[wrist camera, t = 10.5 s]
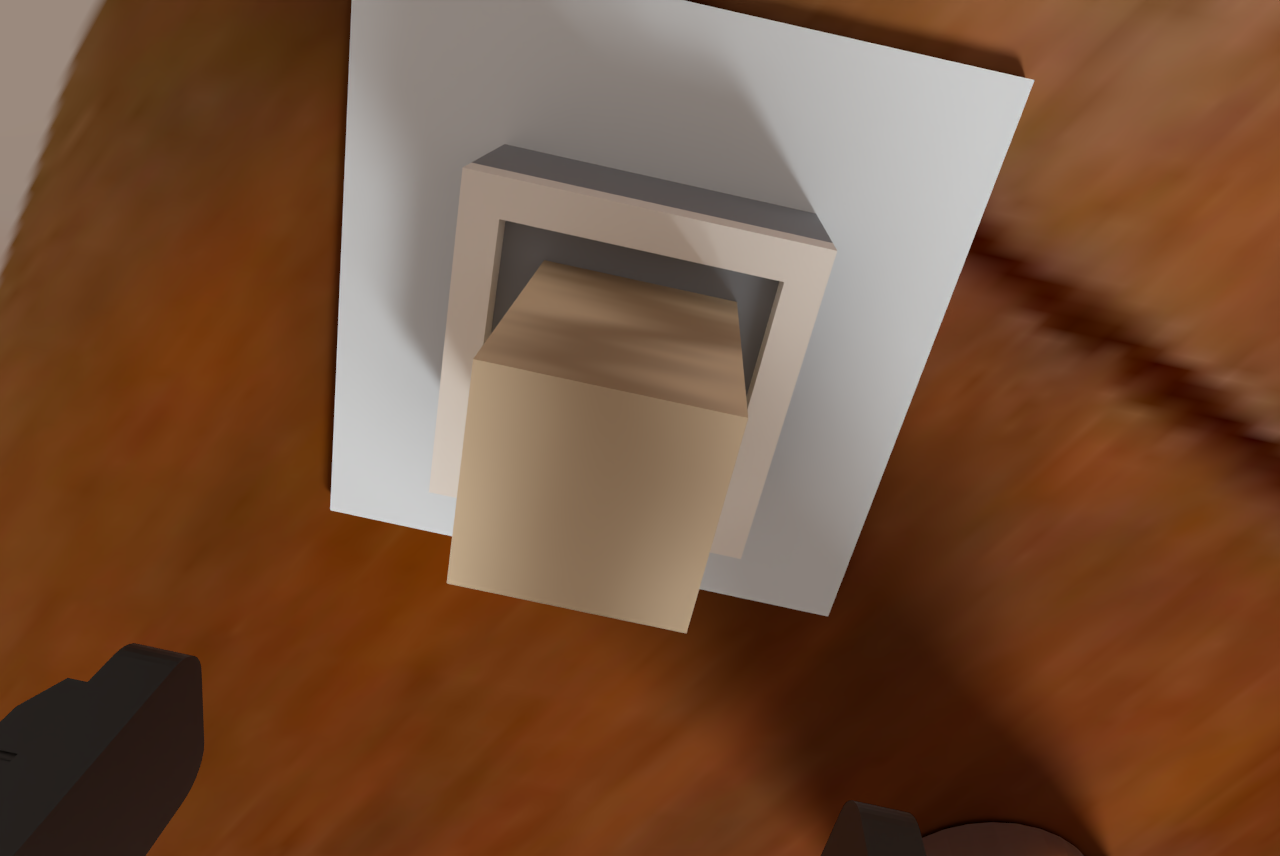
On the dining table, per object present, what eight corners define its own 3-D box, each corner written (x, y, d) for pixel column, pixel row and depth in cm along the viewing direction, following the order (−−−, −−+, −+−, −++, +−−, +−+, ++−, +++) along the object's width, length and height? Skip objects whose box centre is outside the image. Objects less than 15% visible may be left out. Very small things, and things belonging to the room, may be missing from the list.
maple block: (736, 301, 21) (748, 417, 15) (692, 470, 23) (686, 634, 17) (544, 260, 21) (473, 358, 15) (518, 432, 23) (446, 583, 17)
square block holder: (1026, 79, 22) (1107, 91, 18) (826, 606, 30) (846, 707, 26) (363, -72, 22) (273, -99, 17) (337, 501, 30) (270, 585, 25)
